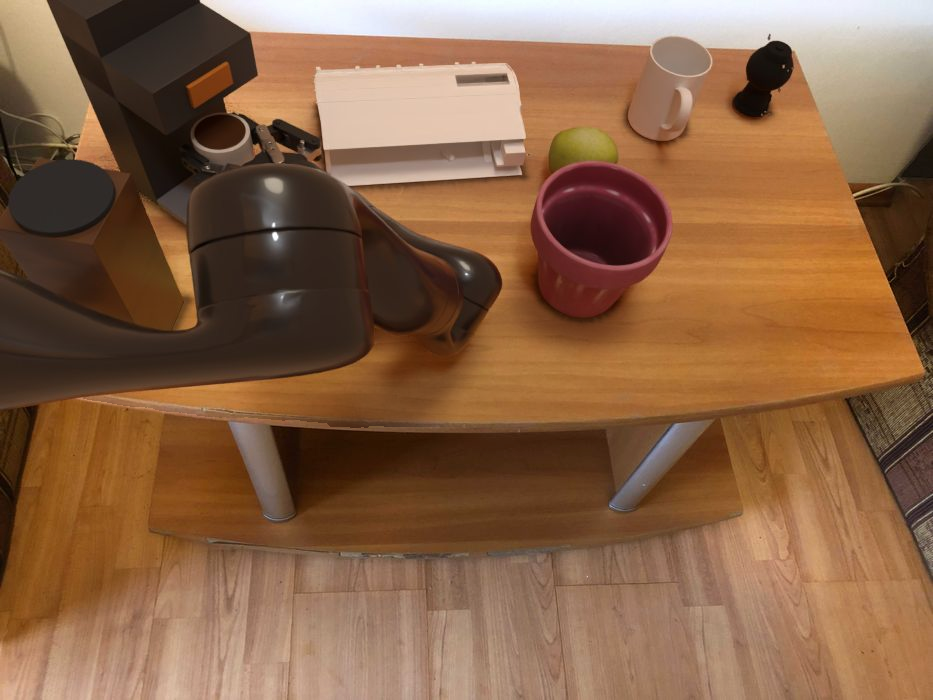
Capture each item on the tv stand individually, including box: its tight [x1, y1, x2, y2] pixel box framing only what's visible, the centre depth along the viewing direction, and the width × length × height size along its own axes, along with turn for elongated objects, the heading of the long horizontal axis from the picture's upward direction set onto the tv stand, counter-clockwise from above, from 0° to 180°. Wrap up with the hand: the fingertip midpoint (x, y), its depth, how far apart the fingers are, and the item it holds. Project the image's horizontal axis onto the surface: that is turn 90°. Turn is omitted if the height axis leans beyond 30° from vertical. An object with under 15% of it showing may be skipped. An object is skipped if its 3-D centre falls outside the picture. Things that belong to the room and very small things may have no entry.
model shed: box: [312, 61, 527, 187], centre depth 92 cm, size 25×15×7 cm, turn 100°
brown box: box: [0, 157, 184, 330], centre depth 69 cm, size 8×8×19 cm
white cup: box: [190, 112, 256, 166], centre depth 81 cm, size 6×6×9 cm
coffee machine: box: [45, 0, 259, 226], centre depth 77 cm, size 16×12×24 cm
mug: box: [627, 35, 713, 142], centre depth 95 cm, size 12×8×10 cm, turn 0°
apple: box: [548, 126, 619, 175], centre depth 90 cm, size 8×9×8 cm
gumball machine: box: [732, 33, 795, 119], centre depth 99 cm, size 7×6×10 cm
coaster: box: [8, 158, 116, 237], centre depth 60 cm, size 8×8×1 cm
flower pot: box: [530, 161, 674, 319], centre depth 79 cm, size 14×14×13 cm
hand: (208, 136), depth 79 cm, fingers closed on white cup, 6 cm apart
